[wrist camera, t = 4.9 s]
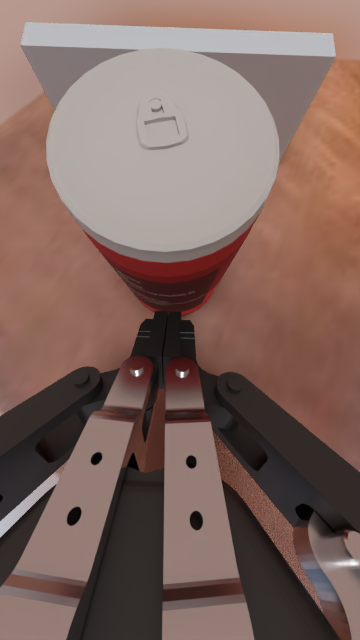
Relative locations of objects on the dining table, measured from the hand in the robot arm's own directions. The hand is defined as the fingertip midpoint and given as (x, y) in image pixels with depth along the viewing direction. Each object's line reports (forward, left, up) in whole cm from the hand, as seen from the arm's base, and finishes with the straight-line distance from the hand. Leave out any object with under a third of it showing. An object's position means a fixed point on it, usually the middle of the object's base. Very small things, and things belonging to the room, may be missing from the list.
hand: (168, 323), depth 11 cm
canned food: (0, -5, -5) cm, 7 cm away
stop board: (0, -21, -5) cm, 21 cm away
